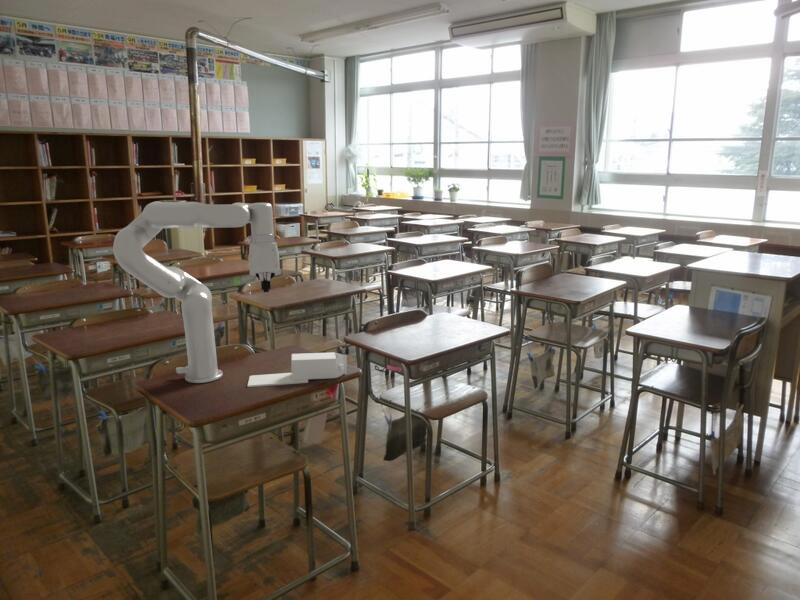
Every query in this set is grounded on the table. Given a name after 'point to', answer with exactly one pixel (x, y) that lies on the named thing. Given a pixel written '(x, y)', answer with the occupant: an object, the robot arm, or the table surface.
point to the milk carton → (318, 365)
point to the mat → (273, 380)
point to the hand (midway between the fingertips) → (266, 291)
